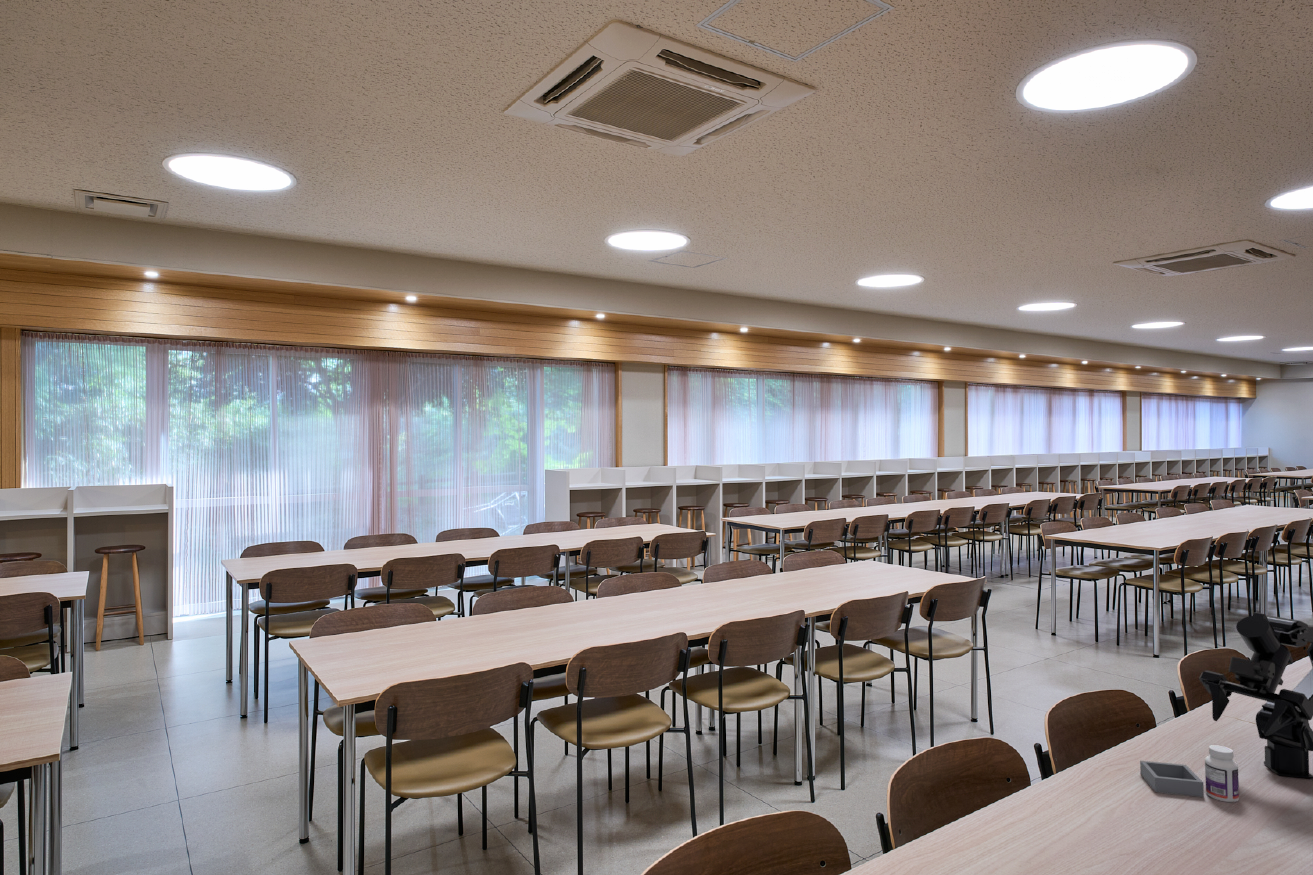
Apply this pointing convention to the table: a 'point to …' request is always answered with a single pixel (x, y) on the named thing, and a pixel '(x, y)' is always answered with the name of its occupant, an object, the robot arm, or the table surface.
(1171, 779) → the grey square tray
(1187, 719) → the table surface
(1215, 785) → the pill bottle
